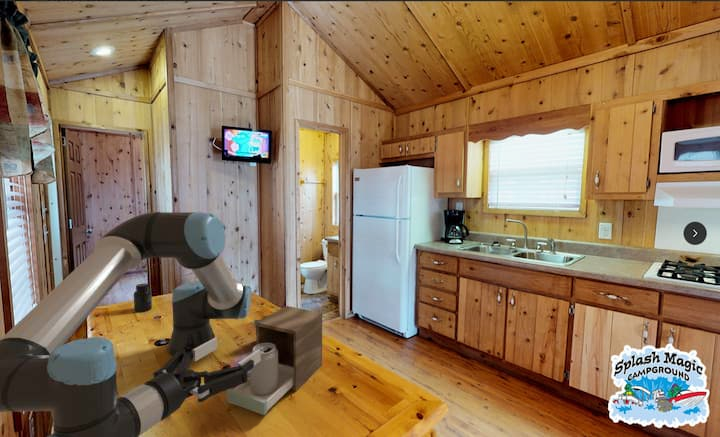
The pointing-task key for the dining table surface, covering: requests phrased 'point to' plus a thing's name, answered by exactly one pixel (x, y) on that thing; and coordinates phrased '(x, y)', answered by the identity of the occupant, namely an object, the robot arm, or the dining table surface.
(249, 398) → the tray
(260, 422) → the dining table surface
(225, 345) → the dining table surface
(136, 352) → the dining table surface
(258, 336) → the housing
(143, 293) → the supplement bottle
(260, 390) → the can
